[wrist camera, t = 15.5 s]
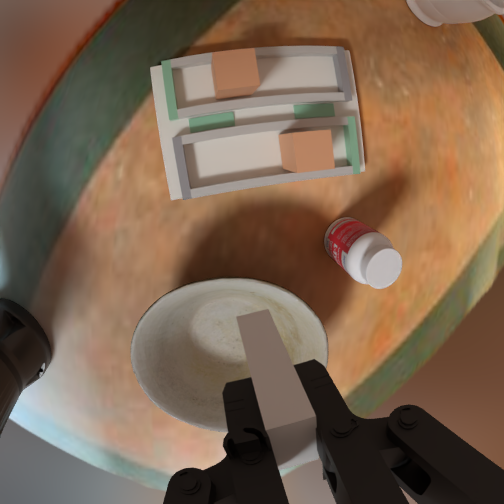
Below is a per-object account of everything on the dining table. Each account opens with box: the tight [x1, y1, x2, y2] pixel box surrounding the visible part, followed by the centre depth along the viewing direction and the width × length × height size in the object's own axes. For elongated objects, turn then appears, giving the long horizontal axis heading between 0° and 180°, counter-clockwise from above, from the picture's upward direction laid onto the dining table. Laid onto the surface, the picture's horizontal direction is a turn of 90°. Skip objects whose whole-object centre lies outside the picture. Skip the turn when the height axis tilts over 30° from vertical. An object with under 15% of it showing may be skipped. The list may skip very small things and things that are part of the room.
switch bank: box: [150, 46, 365, 200], centre depth 33 cm, size 24×16×3 cm, turn 98°
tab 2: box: [278, 130, 335, 173], centre depth 32 cm, size 4×4×6 cm
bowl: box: [131, 277, 328, 432], centre depth 38 cm, size 24×24×10 cm
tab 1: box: [211, 48, 260, 100], centre depth 28 cm, size 4×4×6 cm
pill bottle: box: [324, 217, 402, 289], centre depth 36 cm, size 6×6×11 cm
